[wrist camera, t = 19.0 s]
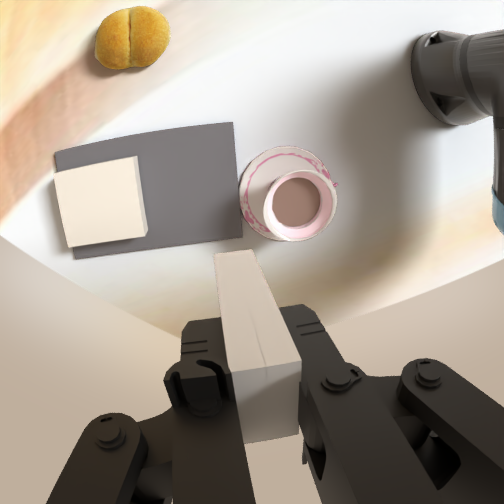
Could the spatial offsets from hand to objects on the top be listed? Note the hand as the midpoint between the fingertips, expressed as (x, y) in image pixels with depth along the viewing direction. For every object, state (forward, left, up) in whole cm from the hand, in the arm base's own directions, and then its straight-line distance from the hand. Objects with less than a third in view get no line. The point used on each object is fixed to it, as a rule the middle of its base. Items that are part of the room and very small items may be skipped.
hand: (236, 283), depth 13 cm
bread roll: (-19, -8, -27) cm, 34 cm away
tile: (0, -8, -24) cm, 26 cm away
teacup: (+2, +9, -27) cm, 28 cm away
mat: (0, -8, -26) cm, 28 cm away
